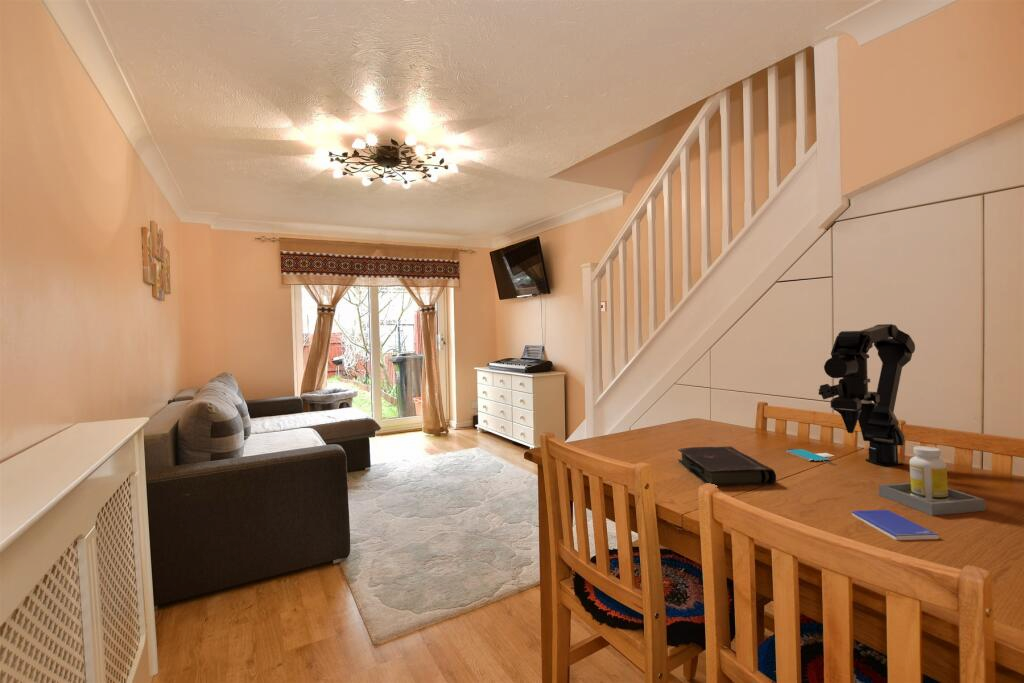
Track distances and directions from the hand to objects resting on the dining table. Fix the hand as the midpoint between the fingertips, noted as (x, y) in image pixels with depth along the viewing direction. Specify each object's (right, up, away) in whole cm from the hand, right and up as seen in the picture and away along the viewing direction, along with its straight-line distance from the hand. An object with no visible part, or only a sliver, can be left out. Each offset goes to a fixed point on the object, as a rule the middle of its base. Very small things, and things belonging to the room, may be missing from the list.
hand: (856, 430), depth 131 cm
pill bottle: (0, -12, -23) cm, 26 cm away
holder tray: (0, -13, -23) cm, 26 cm away
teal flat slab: (-1, -13, +18) cm, 22 cm away
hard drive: (-18, -14, -34) cm, 41 cm away
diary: (-35, -14, +6) cm, 39 cm away
